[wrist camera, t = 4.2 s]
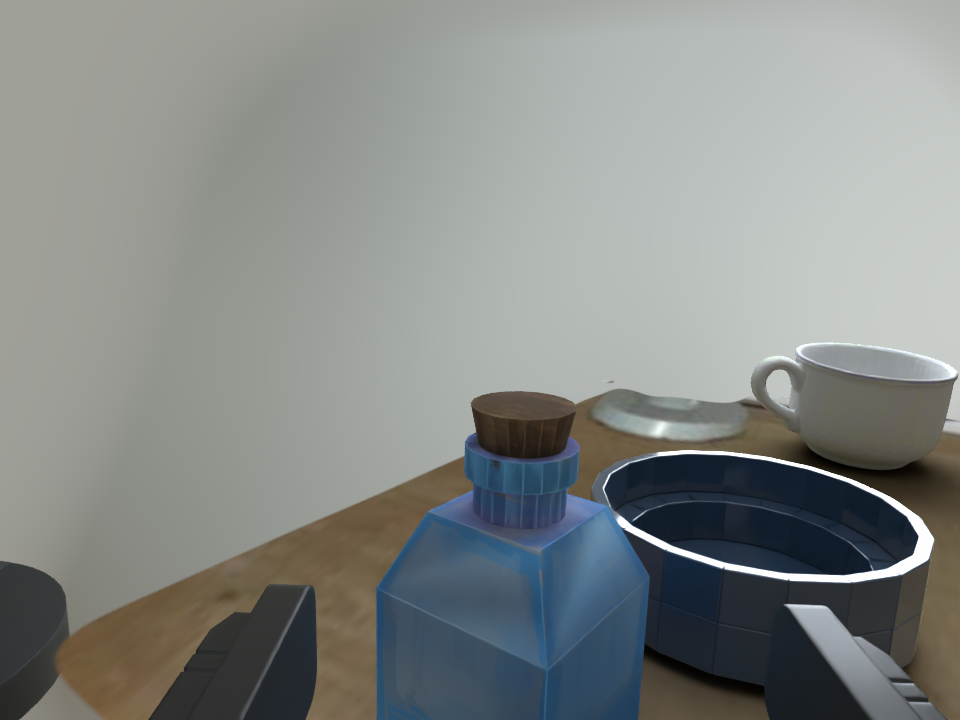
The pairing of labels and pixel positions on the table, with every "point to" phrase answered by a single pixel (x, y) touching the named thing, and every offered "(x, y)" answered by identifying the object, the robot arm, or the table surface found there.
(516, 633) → the perfume bottle
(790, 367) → the teacup
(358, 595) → the table surface
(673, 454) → the bowl
